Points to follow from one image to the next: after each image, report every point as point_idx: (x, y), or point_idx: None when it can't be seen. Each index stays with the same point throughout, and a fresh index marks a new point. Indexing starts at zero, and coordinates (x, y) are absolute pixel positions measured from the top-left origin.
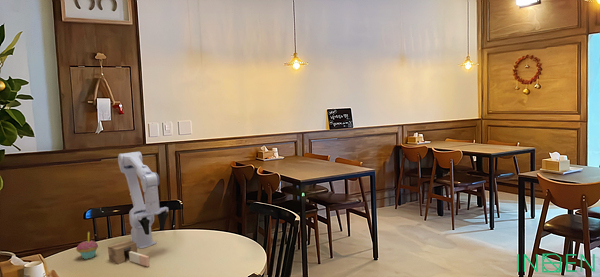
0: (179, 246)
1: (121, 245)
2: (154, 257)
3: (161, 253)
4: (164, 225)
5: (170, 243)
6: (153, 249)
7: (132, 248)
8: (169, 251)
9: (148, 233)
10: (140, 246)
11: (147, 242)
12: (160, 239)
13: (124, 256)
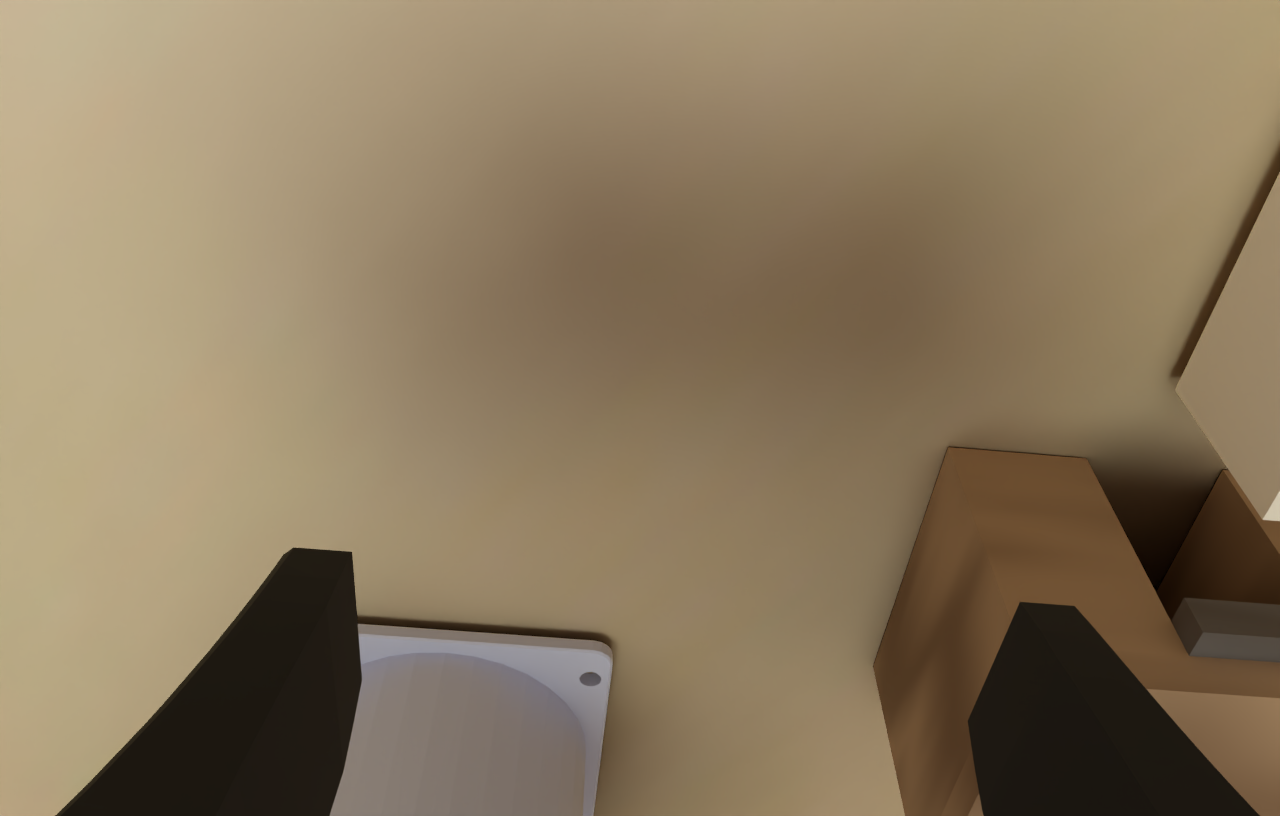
0: (34, 74)
1: (1261, 801)
2: (879, 84)
3: (607, 130)
4: (219, 655)
5: (90, 412)
6: (519, 462)
7: (1109, 606)
8: (412, 43)
9: (1080, 631)
10: (574, 710)
11: (464, 701)
12: (114, 694)
13: (1271, 538)
